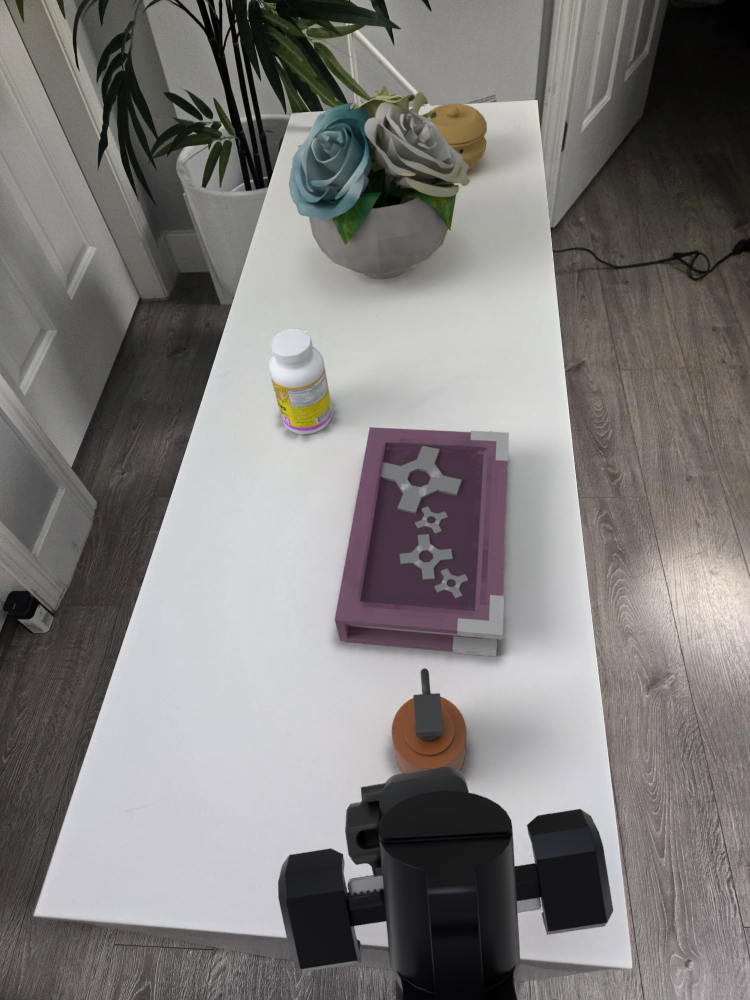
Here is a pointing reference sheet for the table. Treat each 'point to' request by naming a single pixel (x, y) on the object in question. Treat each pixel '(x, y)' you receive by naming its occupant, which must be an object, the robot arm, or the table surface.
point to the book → (427, 542)
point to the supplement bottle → (300, 382)
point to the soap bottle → (429, 740)
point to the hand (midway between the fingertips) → (434, 812)
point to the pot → (462, 130)
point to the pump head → (427, 710)
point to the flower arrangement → (377, 184)
